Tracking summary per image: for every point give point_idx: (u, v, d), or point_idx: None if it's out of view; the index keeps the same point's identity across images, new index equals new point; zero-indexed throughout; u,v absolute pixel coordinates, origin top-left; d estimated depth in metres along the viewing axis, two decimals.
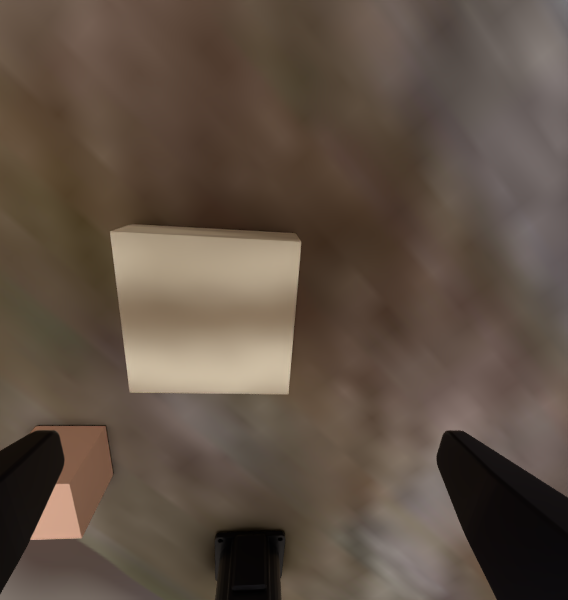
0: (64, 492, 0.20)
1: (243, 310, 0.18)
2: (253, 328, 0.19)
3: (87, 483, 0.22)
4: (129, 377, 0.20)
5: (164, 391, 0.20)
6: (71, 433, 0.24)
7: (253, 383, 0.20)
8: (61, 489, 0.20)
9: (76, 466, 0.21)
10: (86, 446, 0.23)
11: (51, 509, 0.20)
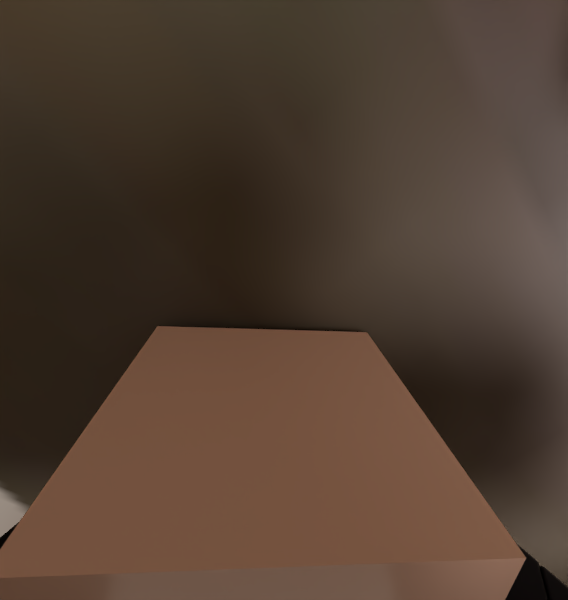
0: None
1: None
2: None
3: None
4: None
5: None
6: (285, 345, 0.07)
7: None
8: (462, 591, 0.03)
9: (439, 453, 0.04)
10: (375, 378, 0.06)
11: None
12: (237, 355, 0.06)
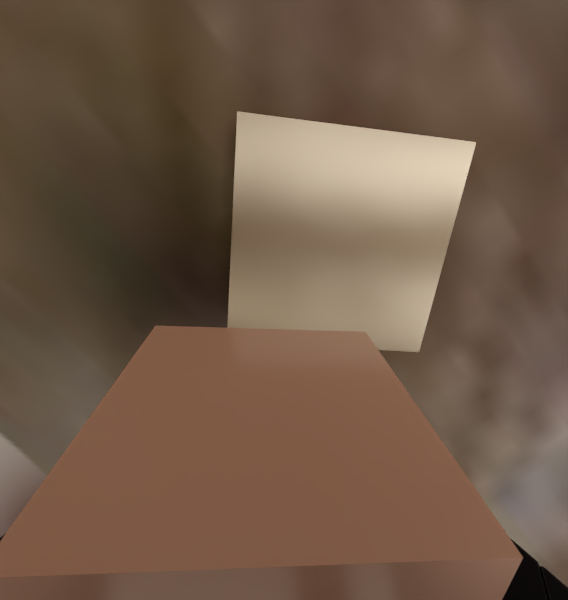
0: None
1: (386, 234, 0.14)
2: (393, 260, 0.15)
3: None
4: (229, 320, 0.15)
5: None
6: (283, 344, 0.07)
7: (379, 335, 0.16)
8: (460, 591, 0.03)
9: (436, 453, 0.04)
10: (373, 378, 0.06)
11: None
12: (235, 355, 0.06)
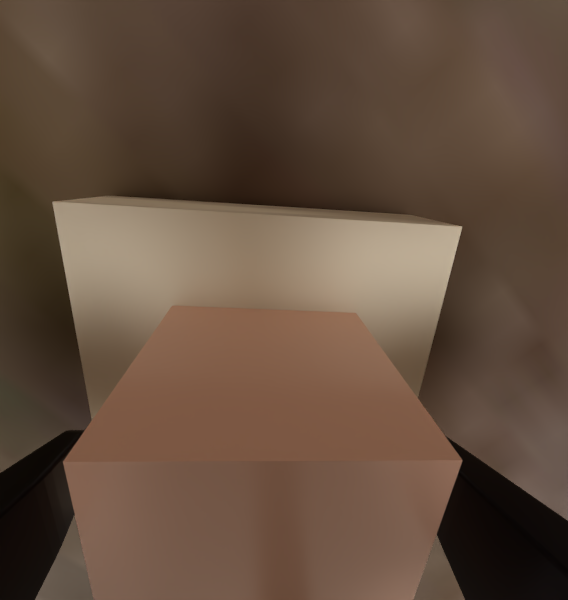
0: (420, 498, 0.04)
1: None
2: None
3: None
4: None
5: None
6: (283, 321, 0.08)
7: None
8: (415, 488, 0.04)
9: (406, 397, 0.05)
10: (360, 347, 0.07)
11: (335, 572, 0.05)
12: (242, 328, 0.07)
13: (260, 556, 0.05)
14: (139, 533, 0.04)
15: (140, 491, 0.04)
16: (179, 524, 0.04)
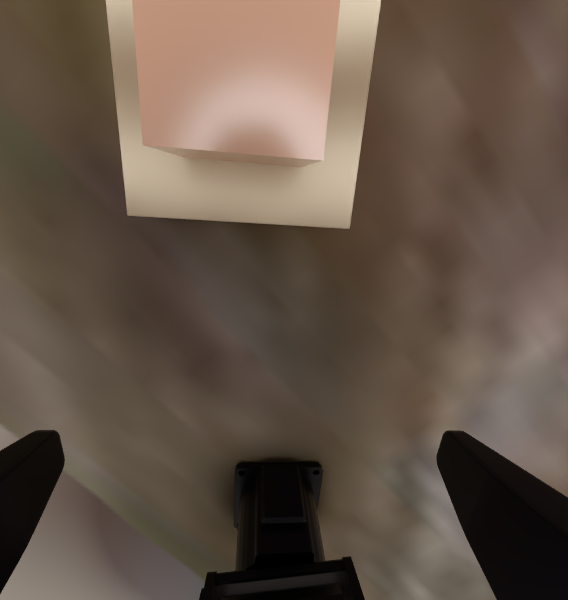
0: None
1: None
2: None
3: None
4: (126, 188, 0.14)
5: (176, 216, 0.14)
6: None
7: (302, 208, 0.14)
8: None
9: None
10: None
11: (280, 37, 0.08)
12: None
13: (234, 10, 0.08)
14: None
15: None
16: None
